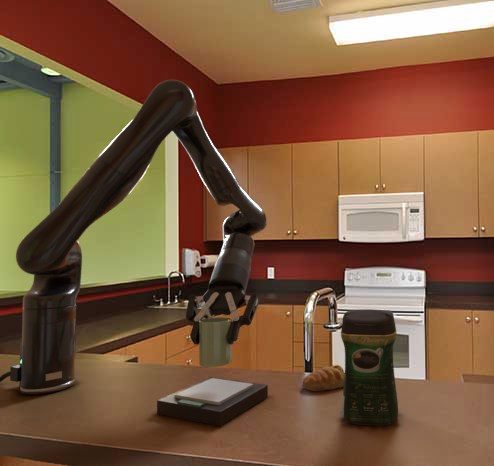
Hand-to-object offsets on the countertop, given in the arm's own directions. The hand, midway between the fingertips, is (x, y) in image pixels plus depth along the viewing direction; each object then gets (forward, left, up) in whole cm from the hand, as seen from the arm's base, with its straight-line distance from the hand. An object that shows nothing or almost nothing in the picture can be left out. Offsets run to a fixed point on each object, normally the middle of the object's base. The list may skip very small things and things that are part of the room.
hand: (212, 341), depth 74 cm
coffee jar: (+28, +7, -12) cm, 32 cm away
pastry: (+14, +19, -12) cm, 27 cm away
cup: (-1, +2, -4) cm, 5 cm away
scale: (-1, +2, -12) cm, 12 cm away
